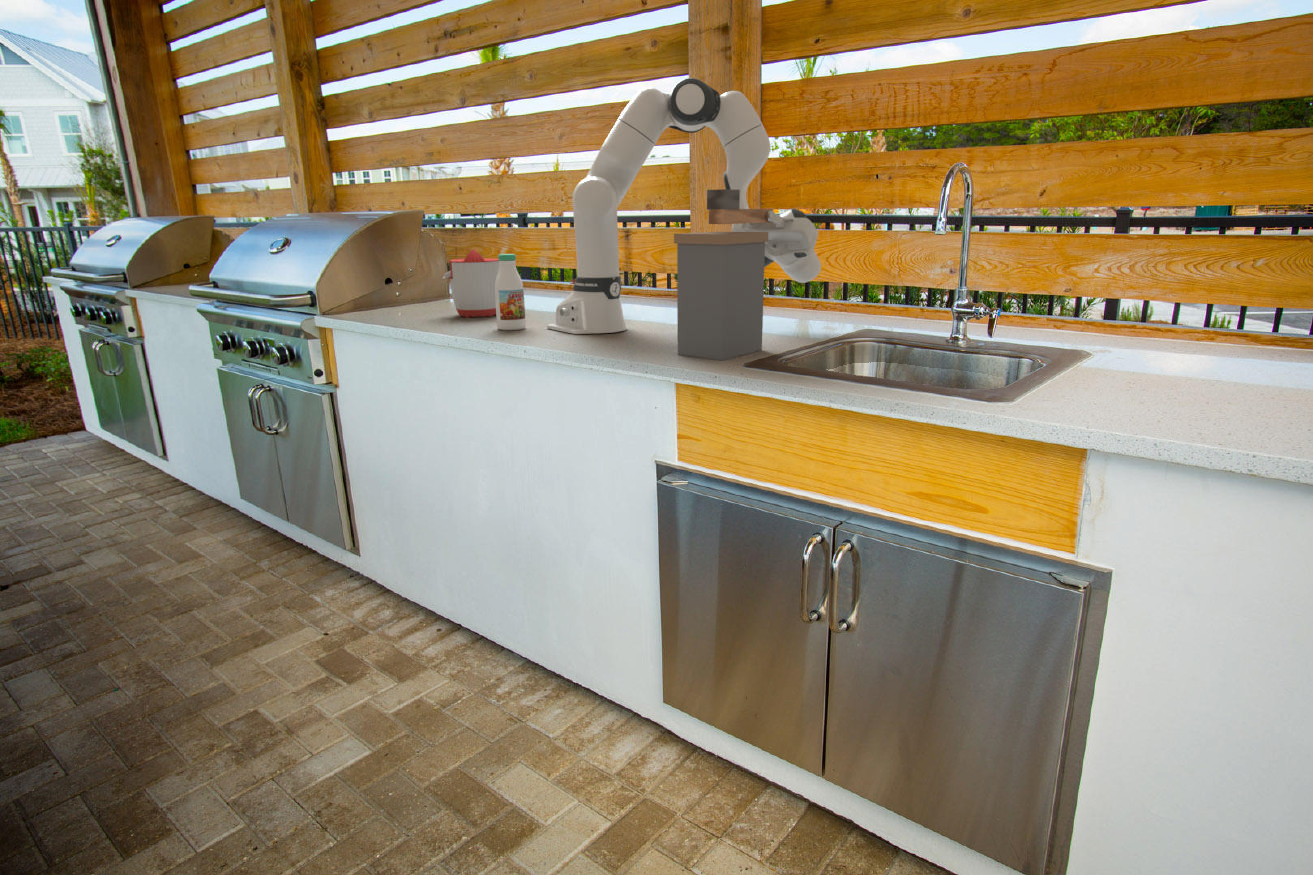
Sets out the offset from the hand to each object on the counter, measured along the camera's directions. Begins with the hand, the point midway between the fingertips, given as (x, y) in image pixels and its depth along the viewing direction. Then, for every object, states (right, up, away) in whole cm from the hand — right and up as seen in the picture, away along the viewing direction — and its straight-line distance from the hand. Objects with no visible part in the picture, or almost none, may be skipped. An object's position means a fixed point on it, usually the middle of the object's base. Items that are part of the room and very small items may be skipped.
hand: (758, 213), depth 175 cm
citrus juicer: (-80, -13, +63) cm, 103 cm away
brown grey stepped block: (-4, -3, -4) cm, 7 cm away
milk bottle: (-63, -21, +36) cm, 76 cm away
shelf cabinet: (-9, -32, -2) cm, 33 cm away
